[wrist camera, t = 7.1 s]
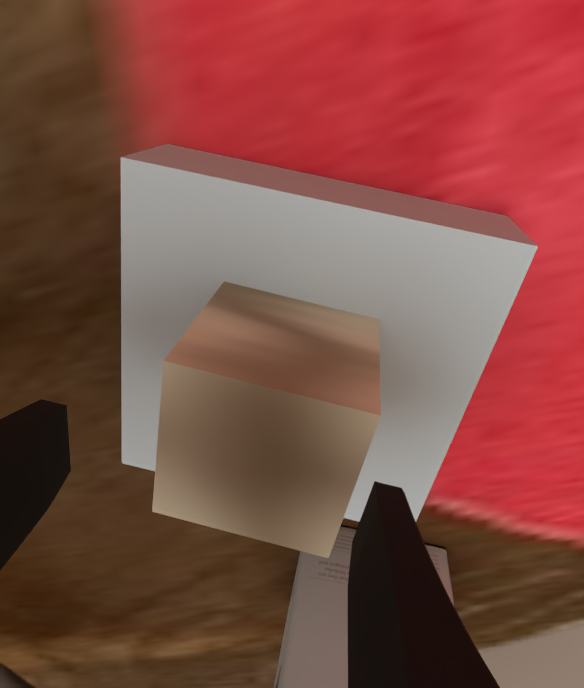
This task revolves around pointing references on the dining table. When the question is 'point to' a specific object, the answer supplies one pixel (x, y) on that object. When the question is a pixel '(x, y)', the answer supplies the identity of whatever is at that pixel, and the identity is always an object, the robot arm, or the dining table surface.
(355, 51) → the dining table surface
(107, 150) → the dining table surface
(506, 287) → the grey block
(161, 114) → the dining table surface
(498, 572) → the dining table surface
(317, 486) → the birch cube
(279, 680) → the supplement box
